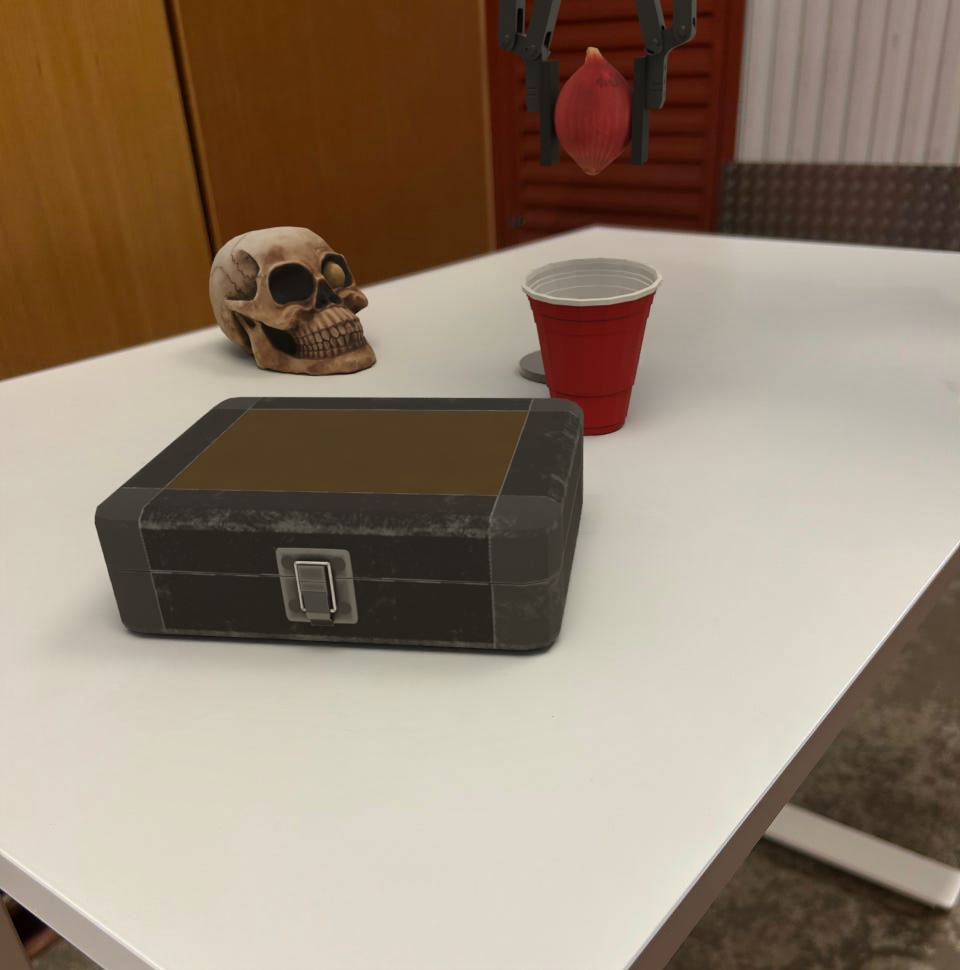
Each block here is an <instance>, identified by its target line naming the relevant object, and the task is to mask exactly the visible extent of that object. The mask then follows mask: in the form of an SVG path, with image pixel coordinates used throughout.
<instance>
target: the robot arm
mask: <svg viewBox="0 0 960 970" xmlns="http://www.w3.org/2000/svg"><path fill="white" fill-rule="evenodd" d="M697 1H698V0H672V26H669V27H666V23H665V18H664V13H663V9H662V4H661V0H634V5H635V8H636V9H635V10H636V14H637V18H638V22H639V26H640V30H641V35H642V39H643V43H644V48H643V50H644V53H645V55H640V56H636V57H633V78H632V79H633V80H632V81H633V82H632V92H633V107H632V139H631V141H630V166H641V165H643V164H644V163H646V162H647V161H648V160H649V142H650V141H649V137H650V136H649V135H650V112H651V110H660V109H662V108H663V106H664V104H665V102H666V91H667V74H668V73H667V70H668V59H669V58H668V57H669V54H670V53H671V52H672V51H673V50H674V49H675V48H678V47H679V46H682V45H684V44H686V43H689V42H691V41H692V40H693V39H695V36H696V34H697ZM561 3H562V0H534V2H533V6H532V11H531V15H530V20H529V22H528V23H529V24H528V27H527V32H526V33H525V23H526V19H525V18H526V0H498V13H497V14H498V15H497V16H498V17H497V18H498V20H497V43H498V46H499V48H500V49H501V50H502V51H505V52H509V53H512V54H515V55H517V56H518V57H520V58H521V59H522V60H523V62H524V67H525V68H524V69H525V106H526V109H527V111H528V113H530V114H533V113H534V114H535V113H539V163H540V164H539V165H540V167H551V166H553V165H555V164H557V163H558V162H560V143H559V140H558V138H557V136H556V134H555V130H554V122H553V117H554V110H555V105H556V101H557V98H558V96H559V93H560V59H548V58H549V56H550V55H551V52H552V51H550V48H551V44H552V40H553V35H554V31H555V27H556V23H557V19H558V15H559V11H560V7H561Z"/></svg>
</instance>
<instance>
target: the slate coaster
mask: <svg viewBox="0 0 960 970" xmlns="http://www.w3.org/2000/svg"><path fill="white" fill-rule="evenodd" d="M518 371H519V374H520V375H521V376H522V377H524V378H526V379H527V380H529V381H533V382H536V383H540V384H541V383H542V384H546V385H547V383H546V377H545V372H544V366H543V361H542V355H541V349H539V350H536V351H532V352H530V353H527V354H525V355H523V356H522V357H521V358H520V359H519V361H518Z"/></svg>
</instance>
